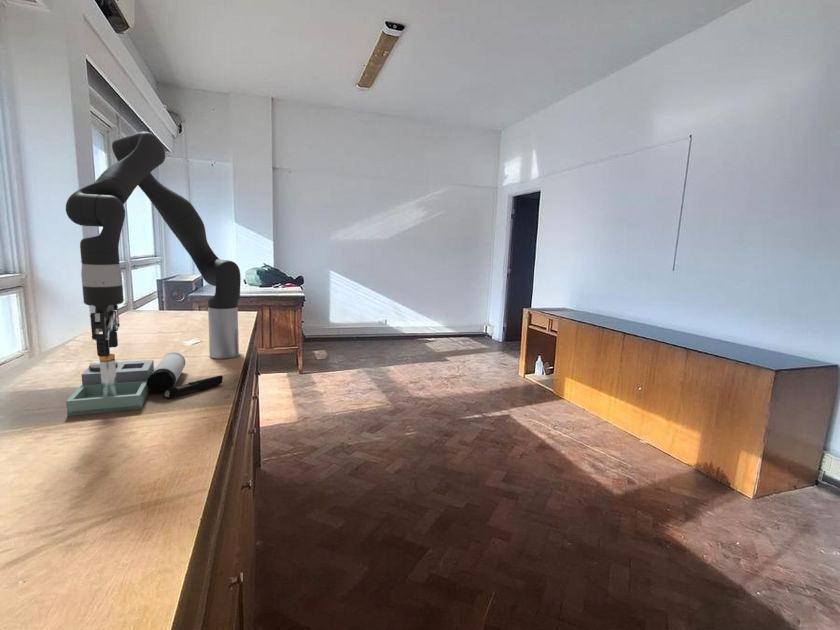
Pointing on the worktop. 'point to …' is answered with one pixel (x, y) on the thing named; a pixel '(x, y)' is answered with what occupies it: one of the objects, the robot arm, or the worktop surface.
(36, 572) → the worktop surface
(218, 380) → the electric trimmer
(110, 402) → the tray
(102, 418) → the worktop surface
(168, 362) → the travel mug
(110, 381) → the gold capped cylinder
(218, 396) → the worktop surface
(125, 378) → the grey slotted holder
